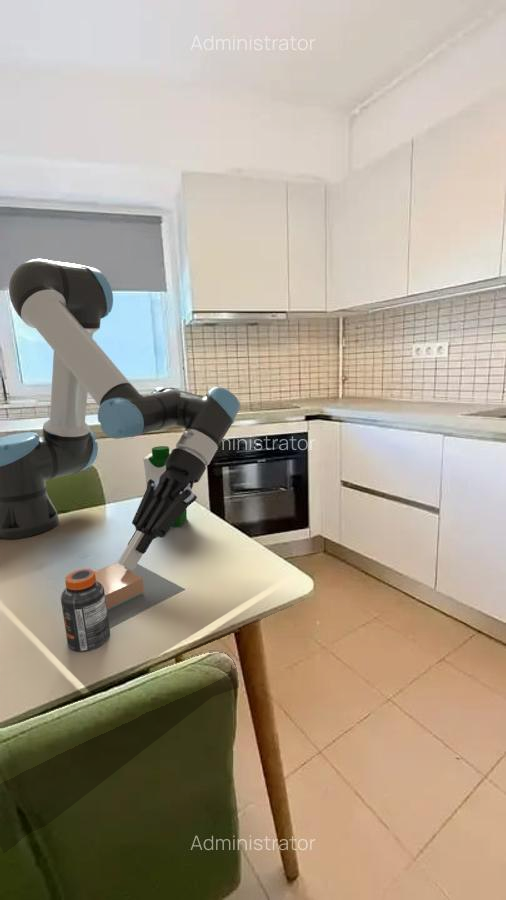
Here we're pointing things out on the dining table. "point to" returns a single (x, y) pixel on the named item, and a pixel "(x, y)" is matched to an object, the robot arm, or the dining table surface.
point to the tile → (119, 585)
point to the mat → (144, 596)
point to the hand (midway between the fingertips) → (125, 566)
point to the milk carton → (160, 472)
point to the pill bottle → (84, 611)
